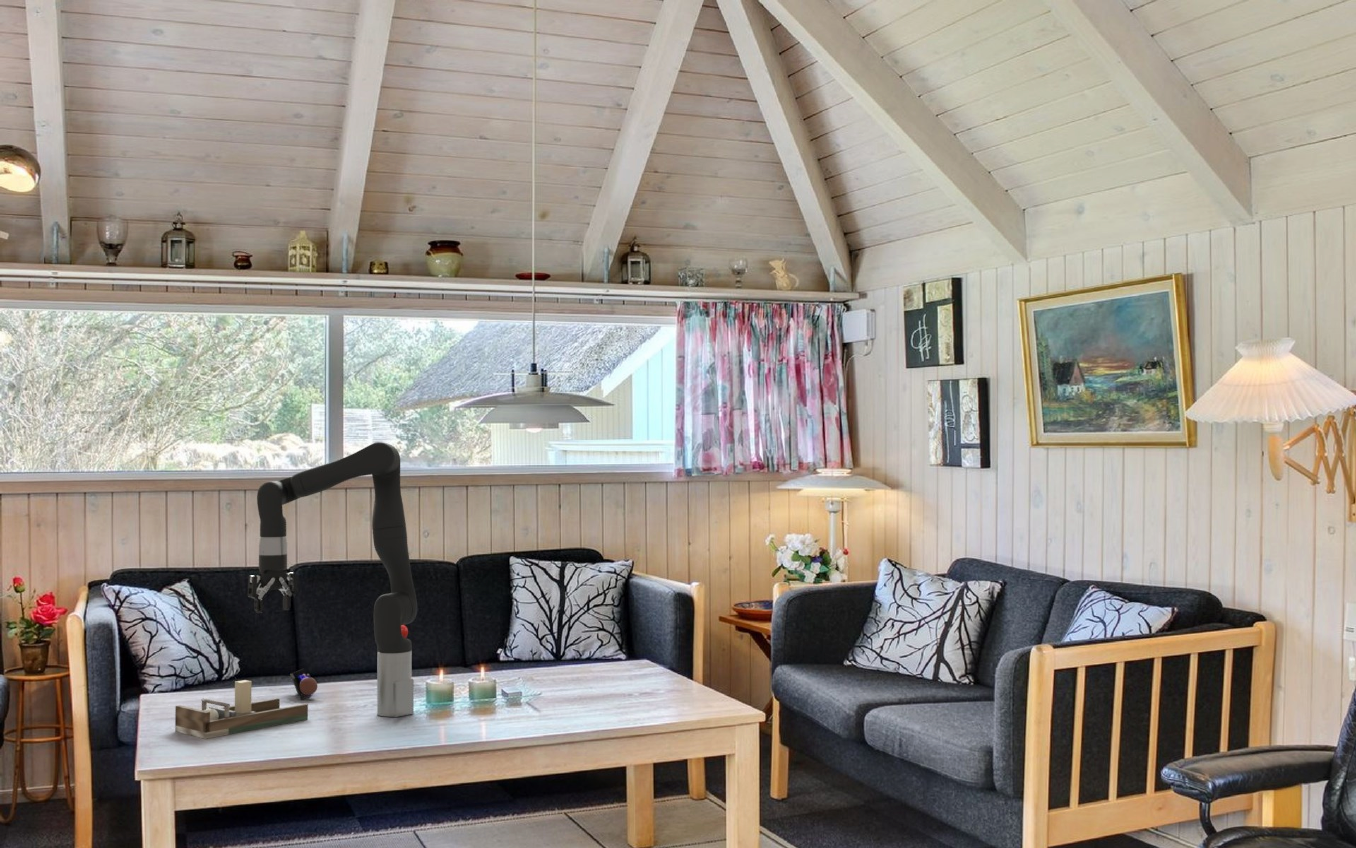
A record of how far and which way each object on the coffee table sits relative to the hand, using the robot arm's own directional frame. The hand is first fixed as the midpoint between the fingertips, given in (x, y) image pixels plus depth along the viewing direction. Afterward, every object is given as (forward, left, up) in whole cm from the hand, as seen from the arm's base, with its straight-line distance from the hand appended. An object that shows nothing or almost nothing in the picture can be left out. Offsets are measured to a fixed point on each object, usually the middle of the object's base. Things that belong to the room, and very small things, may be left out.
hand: (272, 611), depth 344 cm
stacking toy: (+7, -50, -28) cm, 58 cm away
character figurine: (+15, -20, -28) cm, 38 cm away
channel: (-8, +14, -28) cm, 32 cm away
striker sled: (-8, +16, -26) cm, 32 cm away
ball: (-8, +24, -24) cm, 35 cm away
